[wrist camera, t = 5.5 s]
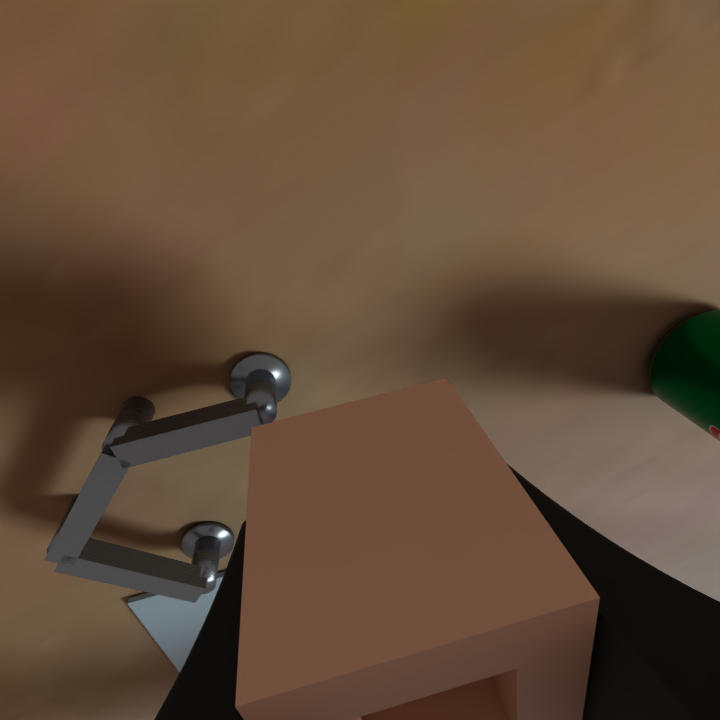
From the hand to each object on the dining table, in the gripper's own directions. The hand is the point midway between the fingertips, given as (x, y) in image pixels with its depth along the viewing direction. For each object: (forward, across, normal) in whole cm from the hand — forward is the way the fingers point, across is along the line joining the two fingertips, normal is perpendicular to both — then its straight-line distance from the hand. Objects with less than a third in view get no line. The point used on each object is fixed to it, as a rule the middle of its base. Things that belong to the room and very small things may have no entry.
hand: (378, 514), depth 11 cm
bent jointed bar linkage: (+8, +8, +4) cm, 12 cm away
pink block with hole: (+1, 0, 0) cm, 1 cm away
